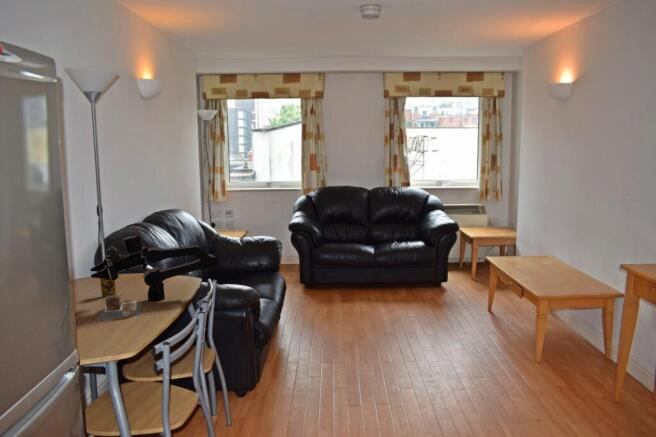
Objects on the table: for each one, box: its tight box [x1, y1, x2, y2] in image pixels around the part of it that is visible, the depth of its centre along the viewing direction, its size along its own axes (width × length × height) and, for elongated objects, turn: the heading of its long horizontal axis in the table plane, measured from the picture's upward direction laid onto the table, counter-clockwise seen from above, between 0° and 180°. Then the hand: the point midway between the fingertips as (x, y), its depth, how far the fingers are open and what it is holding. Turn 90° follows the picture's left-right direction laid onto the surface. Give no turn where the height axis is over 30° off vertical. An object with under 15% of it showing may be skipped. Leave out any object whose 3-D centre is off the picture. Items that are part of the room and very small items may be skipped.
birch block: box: [121, 299, 137, 316], centre depth 218 cm, size 5×5×5 cm
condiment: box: [95, 278, 121, 299], centre depth 247 cm, size 7×8×12 cm
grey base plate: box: [96, 302, 143, 322], centre depth 222 cm, size 16×18×1 cm
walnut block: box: [105, 294, 122, 311], centre depth 225 cm, size 5×5×5 cm
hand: (90, 273), depth 225 cm, fingers open, 9 cm apart
